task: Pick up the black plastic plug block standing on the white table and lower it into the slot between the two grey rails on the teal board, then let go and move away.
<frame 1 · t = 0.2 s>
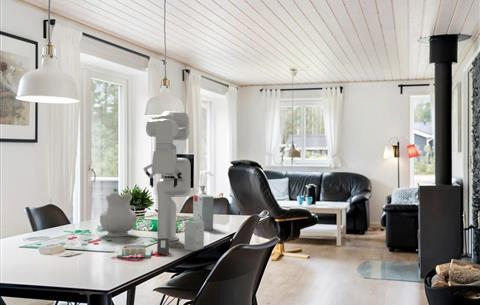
hand: (163, 187, 222), 30 cm above the table, fingers open, 9 cm apart
ceramic pitcher: (117, 235, 278), on the table
hard drive box: (202, 228, 308), on the table
small box: (194, 249, 242), on the table
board: (135, 254, 225), on the table
plug: (163, 253, 231), on the table
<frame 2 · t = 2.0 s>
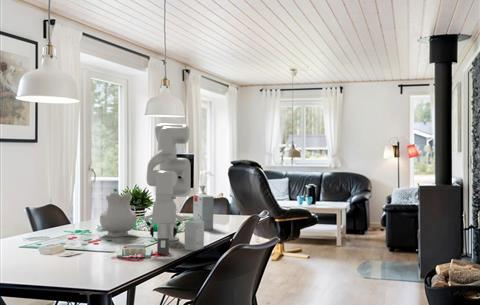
hand: (163, 236, 230), 7 cm above the table, fingers open, 9 cm apart
nothing on the table moved.
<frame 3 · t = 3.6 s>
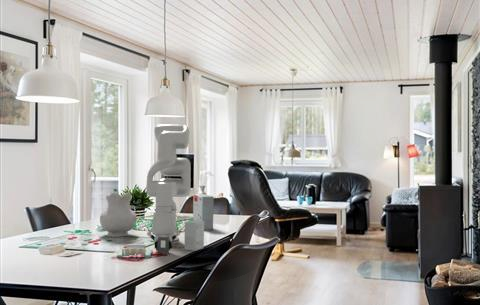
hand: (163, 249, 231), 1 cm above the table, fingers closed on plug, 5 cm apart
plug: (163, 253, 231), on the table, touching gripper
everything else where it was.
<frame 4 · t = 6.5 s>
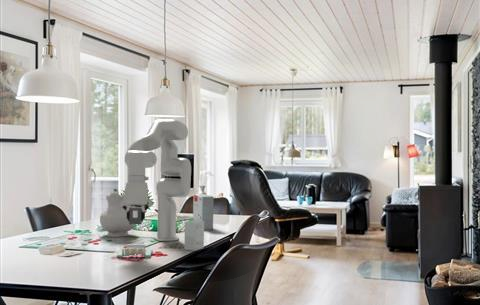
hand: (135, 220, 225), 15 cm above the table, fingers closed on plug, 5 cm apart
plug: (135, 223, 225), point 14 cm above the table, touching gripper
everything else where it was.
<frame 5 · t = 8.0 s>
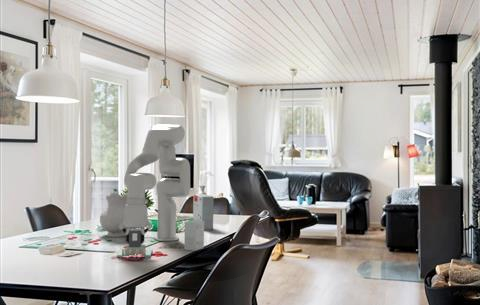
hand: (135, 242, 225), 5 cm above the table, fingers closed on plug, 5 cm apart
plug: (135, 246, 225), point 4 cm above the table, touching gripper
everything else where it was.
when the fingers open (4 cm above the table, at t = 9.2 s): plug stays where it is, resting on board.
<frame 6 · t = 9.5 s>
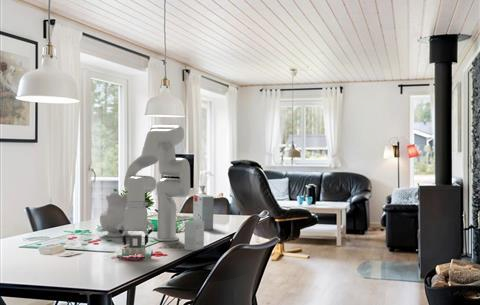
hand: (135, 244, 225), 5 cm above the table, fingers open, 8 cm apart
plug: (135, 251, 225), point 1 cm above the table, touching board
everything else where it was.
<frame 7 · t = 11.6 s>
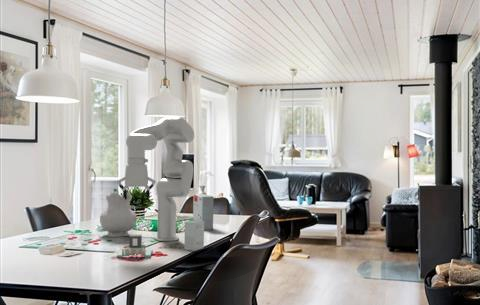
hand: (136, 199, 234), 24 cm above the table, fingers open, 9 cm apart
nothing on the table moved.
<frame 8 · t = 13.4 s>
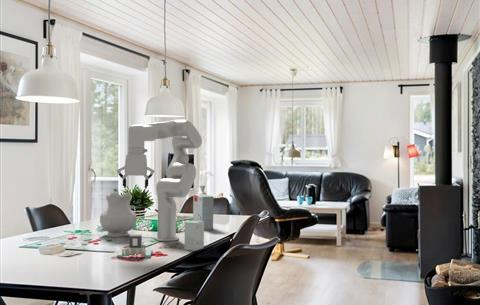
hand: (135, 187, 241), 28 cm above the table, fingers open, 9 cm apart
nothing on the table moved.
at the end: plug 0.1 cm off-centre on the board, point 1.5 cm above the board's base; plug tilted 0°; the gripper is holding nothing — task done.
